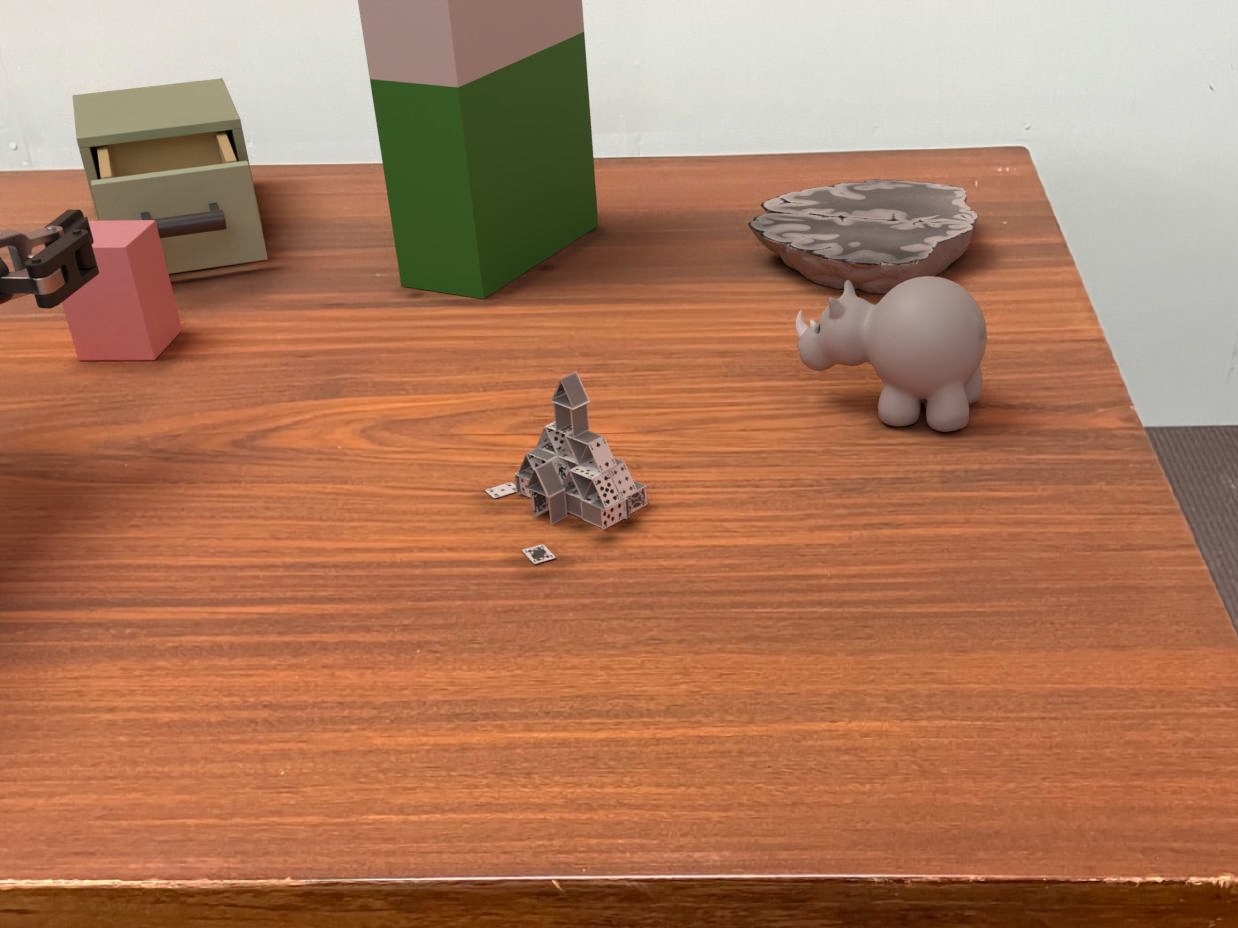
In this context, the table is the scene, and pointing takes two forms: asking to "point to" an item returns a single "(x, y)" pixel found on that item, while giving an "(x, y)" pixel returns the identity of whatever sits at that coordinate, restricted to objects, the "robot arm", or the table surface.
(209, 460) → the table surface
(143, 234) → the block
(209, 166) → the drawer
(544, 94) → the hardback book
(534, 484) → the house of cards
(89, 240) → the robot arm
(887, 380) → the chubby cartoon animal
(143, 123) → the cabinet
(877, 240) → the brain slice
